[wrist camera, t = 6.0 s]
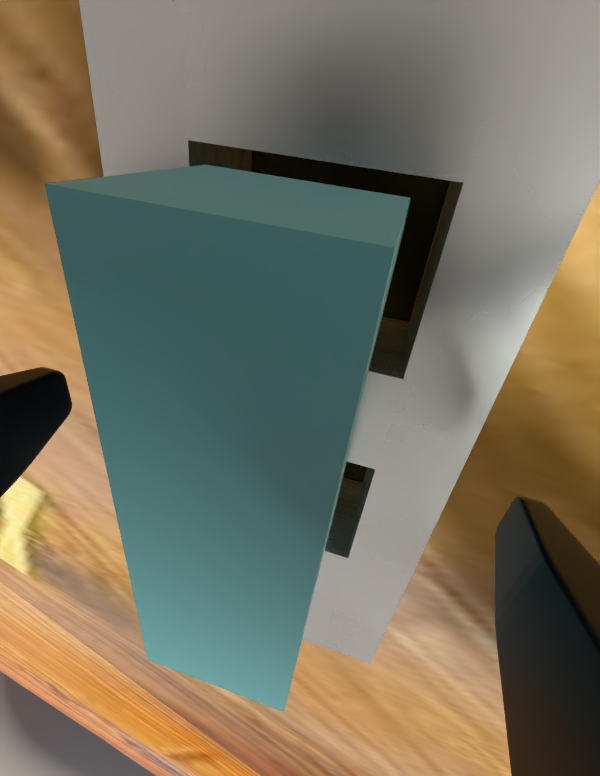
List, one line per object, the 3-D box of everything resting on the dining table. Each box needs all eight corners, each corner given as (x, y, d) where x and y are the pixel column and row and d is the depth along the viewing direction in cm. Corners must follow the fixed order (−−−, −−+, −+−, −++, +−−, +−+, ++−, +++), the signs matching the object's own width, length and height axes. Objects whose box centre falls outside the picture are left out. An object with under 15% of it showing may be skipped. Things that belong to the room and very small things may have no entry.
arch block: (344, 471, 14) (283, 712, 8) (262, 447, 14) (147, 659, 8) (417, 174, 9) (394, 247, 3) (285, 154, 9) (45, 182, 3)
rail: (379, 584, 16) (369, 663, 14) (199, 526, 18) (161, 589, 15) (720, -261, 5) (978, -616, 3) (167, -252, 7) (9, -490, 4)
